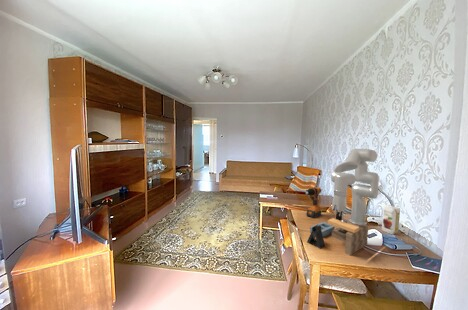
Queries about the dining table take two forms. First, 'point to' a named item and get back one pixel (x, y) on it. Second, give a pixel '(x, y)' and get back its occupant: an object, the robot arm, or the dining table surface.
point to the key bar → (343, 225)
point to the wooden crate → (352, 238)
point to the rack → (324, 228)
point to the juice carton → (390, 219)
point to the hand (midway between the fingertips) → (338, 221)
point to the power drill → (314, 202)
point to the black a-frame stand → (319, 237)
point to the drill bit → (343, 229)
